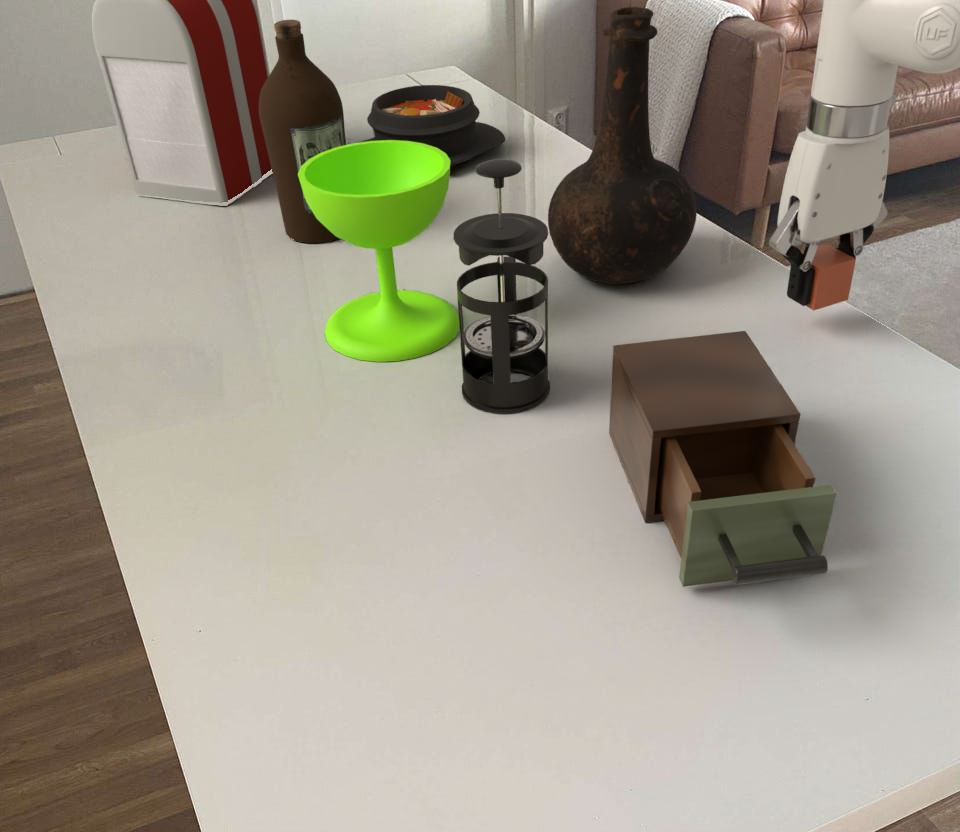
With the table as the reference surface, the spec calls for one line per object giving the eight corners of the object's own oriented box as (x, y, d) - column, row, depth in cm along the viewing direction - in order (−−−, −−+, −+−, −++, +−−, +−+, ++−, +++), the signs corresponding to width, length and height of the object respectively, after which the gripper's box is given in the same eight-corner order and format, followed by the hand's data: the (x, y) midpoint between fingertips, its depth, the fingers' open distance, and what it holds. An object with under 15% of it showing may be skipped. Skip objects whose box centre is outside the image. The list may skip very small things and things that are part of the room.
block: (820, 284, 113) (827, 243, 110) (848, 300, 110) (856, 258, 107) (787, 294, 112) (792, 254, 108) (813, 310, 109) (820, 269, 105)
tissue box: (133, 196, 151) (73, -15, 132) (199, 154, 162) (152, -45, 143) (227, 207, 146) (178, -9, 127) (288, 163, 157) (252, -42, 138)
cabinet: (782, 506, 91) (801, 413, 84) (645, 523, 90) (652, 431, 83) (732, 418, 101) (745, 330, 94) (608, 433, 100) (613, 345, 93)
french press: (548, 417, 103) (548, 186, 86) (456, 417, 103) (439, 187, 87) (552, 359, 111) (553, 137, 95) (467, 359, 112) (453, 140, 96)
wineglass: (482, 341, 114) (474, 177, 102) (348, 374, 111) (322, 209, 98) (432, 284, 125) (419, 130, 112) (308, 313, 121) (280, 157, 109)
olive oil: (268, 228, 140) (228, 23, 122) (334, 207, 144) (305, 6, 126) (304, 253, 133) (267, 40, 116) (372, 231, 137) (347, 22, 120)
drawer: (842, 613, 79) (864, 536, 74) (701, 631, 78) (712, 555, 73) (763, 475, 92) (777, 401, 87) (642, 489, 92) (648, 415, 86)
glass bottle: (612, 316, 117) (625, 45, 97) (518, 265, 128) (513, 12, 108) (721, 270, 124) (754, 9, 104) (623, 226, 135) (637, -19, 115)
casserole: (478, 126, 165) (476, 69, 159) (525, 163, 153) (524, 103, 147) (332, 154, 159) (324, 96, 153) (368, 194, 147) (360, 133, 141)
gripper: (890, 89, 103) (856, 263, 115) (751, 123, 98) (732, 301, 111) (944, 107, 98) (903, 288, 110) (800, 144, 93) (775, 328, 106)
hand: (818, 293), depth 110 cm, fingers closed on block, 4 cm apart
